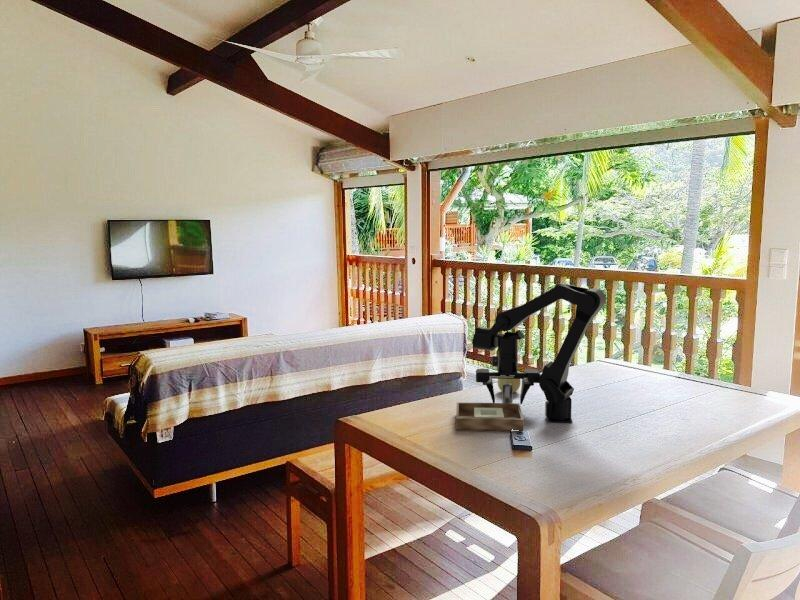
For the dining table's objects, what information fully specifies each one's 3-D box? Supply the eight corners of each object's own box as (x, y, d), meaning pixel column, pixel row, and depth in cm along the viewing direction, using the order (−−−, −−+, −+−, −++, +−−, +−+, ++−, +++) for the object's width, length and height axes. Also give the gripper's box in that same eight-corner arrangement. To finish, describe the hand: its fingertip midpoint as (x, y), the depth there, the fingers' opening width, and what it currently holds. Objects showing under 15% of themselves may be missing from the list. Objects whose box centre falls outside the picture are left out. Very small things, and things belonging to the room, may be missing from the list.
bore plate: (502, 416, 171) (502, 408, 171) (503, 425, 163) (504, 417, 163) (474, 415, 172) (474, 407, 172) (474, 425, 164) (474, 416, 164)
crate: (518, 414, 174) (518, 403, 173) (523, 432, 160) (523, 419, 159) (456, 413, 176) (456, 402, 175) (456, 430, 162) (456, 418, 161)
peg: (512, 408, 179) (512, 383, 178) (512, 412, 176) (513, 385, 175) (501, 408, 180) (502, 382, 178) (502, 411, 177) (502, 385, 176)
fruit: (515, 396, 191) (515, 372, 190) (494, 393, 195) (494, 369, 194) (524, 390, 198) (524, 367, 197) (503, 387, 202) (503, 364, 200)
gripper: (536, 346, 182) (536, 396, 185) (475, 346, 184) (475, 395, 187) (541, 355, 171) (540, 407, 174) (476, 354, 173) (476, 406, 176)
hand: (507, 403), depth 178 cm, fingers open, 8 cm apart
